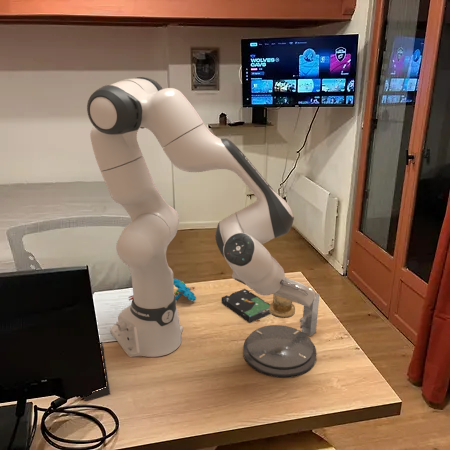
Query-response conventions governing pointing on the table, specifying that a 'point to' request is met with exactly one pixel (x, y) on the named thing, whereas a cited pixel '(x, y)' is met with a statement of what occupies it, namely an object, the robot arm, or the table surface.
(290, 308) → the brass hub
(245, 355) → the turntable base
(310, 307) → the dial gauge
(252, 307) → the disk drive
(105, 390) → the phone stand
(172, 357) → the table surface
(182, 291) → the gear
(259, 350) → the turntable platter
